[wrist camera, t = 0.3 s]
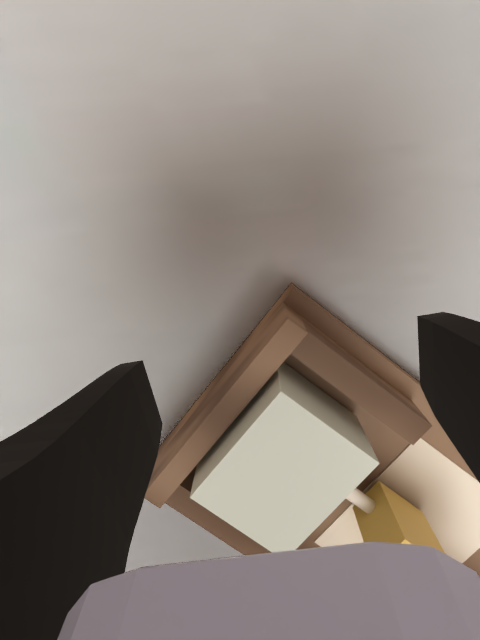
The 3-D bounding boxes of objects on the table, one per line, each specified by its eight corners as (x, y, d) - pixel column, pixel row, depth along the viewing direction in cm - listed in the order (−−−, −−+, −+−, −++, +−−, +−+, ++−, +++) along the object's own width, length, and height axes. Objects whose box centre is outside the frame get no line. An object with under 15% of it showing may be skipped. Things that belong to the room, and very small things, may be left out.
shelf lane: (440, 646, 27) (476, 732, 22) (154, 453, 24) (131, 508, 20) (593, 517, 24) (668, 585, 20) (291, 282, 21) (301, 302, 17)
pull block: (370, 562, 23) (393, 633, 19) (201, 445, 22) (189, 497, 18) (450, 485, 22) (492, 545, 18) (275, 356, 21) (280, 391, 17)
